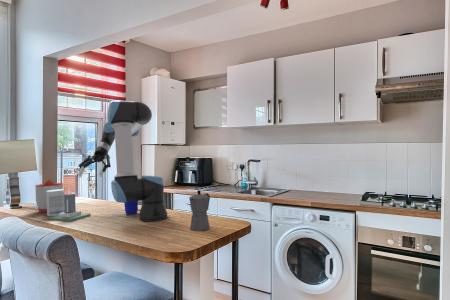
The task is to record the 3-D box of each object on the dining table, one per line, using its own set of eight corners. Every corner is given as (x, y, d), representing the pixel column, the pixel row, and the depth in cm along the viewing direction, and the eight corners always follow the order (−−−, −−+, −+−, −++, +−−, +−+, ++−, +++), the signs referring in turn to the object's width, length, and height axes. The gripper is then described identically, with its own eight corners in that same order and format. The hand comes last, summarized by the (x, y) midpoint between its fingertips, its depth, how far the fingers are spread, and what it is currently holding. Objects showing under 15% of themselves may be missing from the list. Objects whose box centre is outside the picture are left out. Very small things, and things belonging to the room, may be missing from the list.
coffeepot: (200, 233, 133) (199, 192, 133) (183, 231, 137) (182, 191, 137) (218, 225, 146) (217, 188, 146) (201, 223, 151) (200, 187, 151)
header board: (90, 215, 175) (90, 210, 175) (71, 221, 162) (71, 215, 162) (69, 214, 180) (69, 209, 180) (48, 219, 167) (48, 214, 167)
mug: (140, 215, 173) (140, 197, 173) (121, 214, 176) (120, 197, 176) (147, 212, 181) (146, 195, 181) (128, 211, 184) (128, 195, 184)
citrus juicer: (62, 207, 205) (61, 177, 204) (65, 211, 190) (64, 179, 190) (35, 210, 196) (34, 179, 196) (36, 214, 181) (35, 181, 181)
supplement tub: (68, 213, 182) (68, 189, 182) (54, 217, 173) (53, 191, 173) (57, 212, 186) (56, 188, 186) (43, 216, 177) (42, 191, 177)
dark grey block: (75, 214, 173) (75, 193, 173) (70, 216, 169) (70, 194, 168) (69, 214, 173) (68, 193, 173) (64, 216, 169) (63, 194, 169)
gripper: (122, 154, 197) (111, 179, 182) (86, 155, 200) (73, 180, 185) (118, 145, 192) (106, 170, 177) (81, 147, 195) (67, 172, 180)
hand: (89, 175), depth 181 cm, fingers open, 13 cm apart
